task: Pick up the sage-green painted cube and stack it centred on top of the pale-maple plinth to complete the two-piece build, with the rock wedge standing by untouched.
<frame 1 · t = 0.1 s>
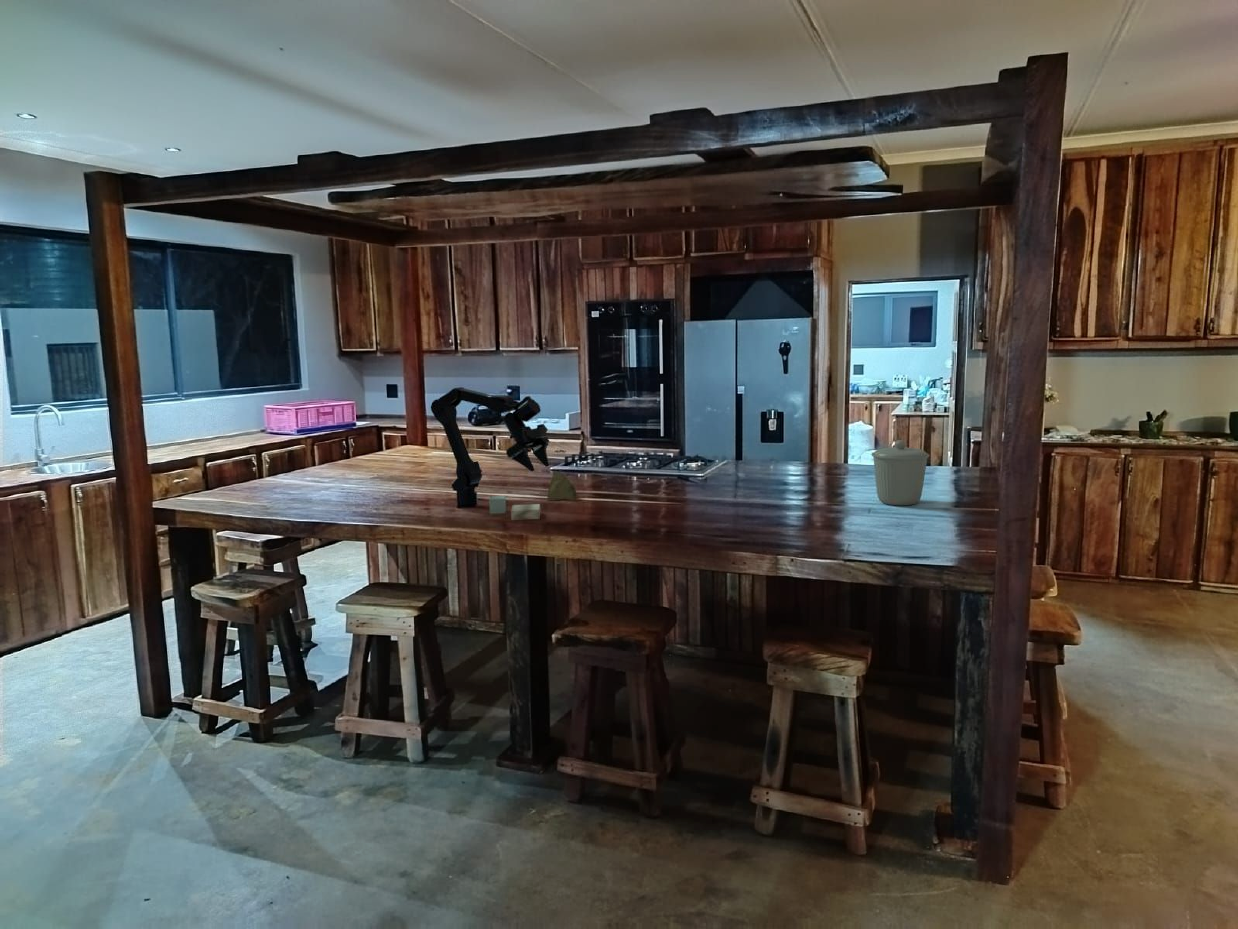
hand: (540, 468, 270), 15 cm above the kitchen island, tool tilted 30°, fingers open, 9 cm apart
rock: (563, 499, 294), on the kitchen island
canister: (898, 503, 270), on the kitchen island
plinth: (526, 516, 267), on the kitchen island
block: (498, 512, 275), on the kitchen island
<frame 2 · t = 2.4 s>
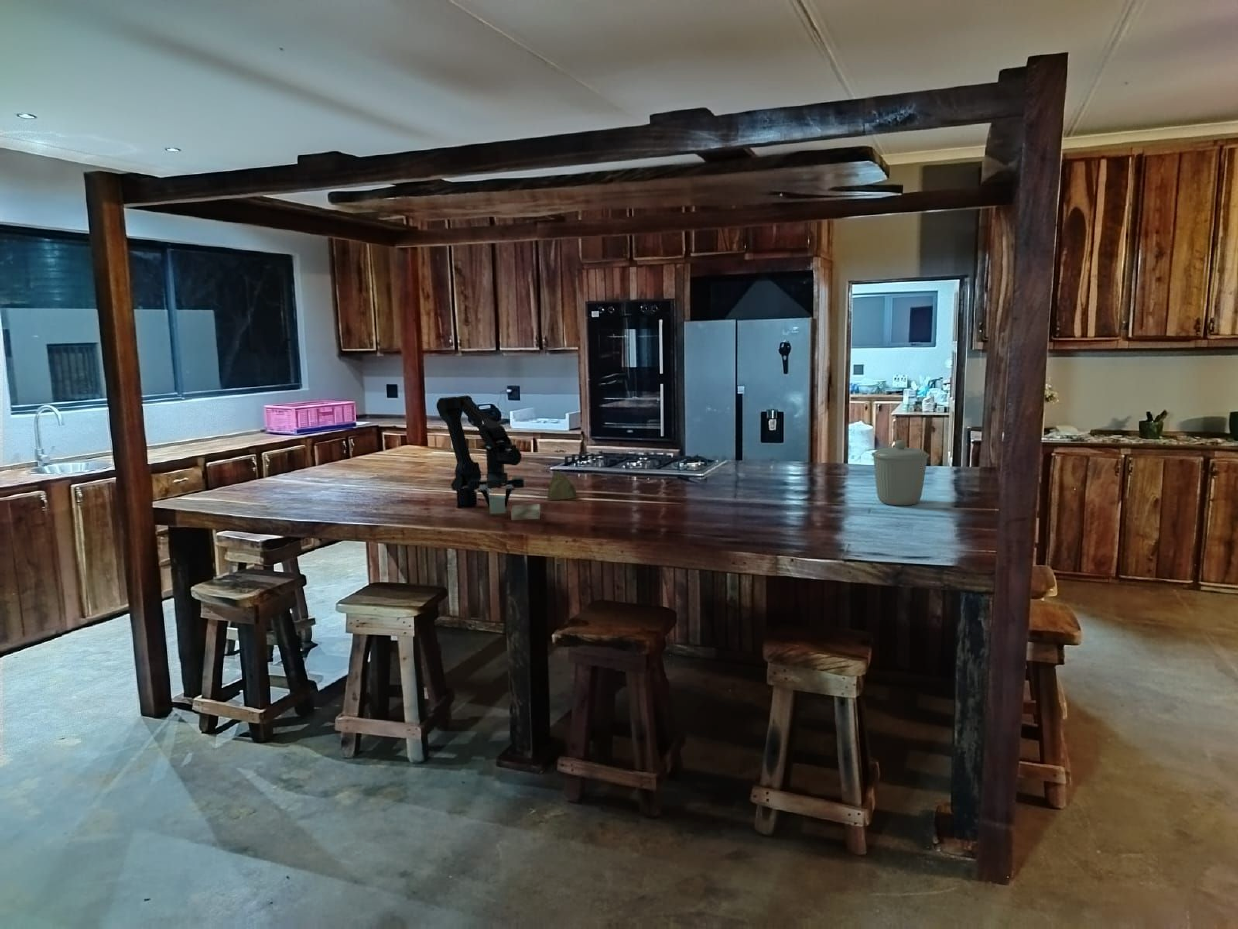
hand: (497, 508, 275), 1 cm above the kitchen island, tool pointing down, fingers closed on block, 5 cm apart
block: (498, 511, 275), on the kitchen island, touching gripper
everything else where it was.
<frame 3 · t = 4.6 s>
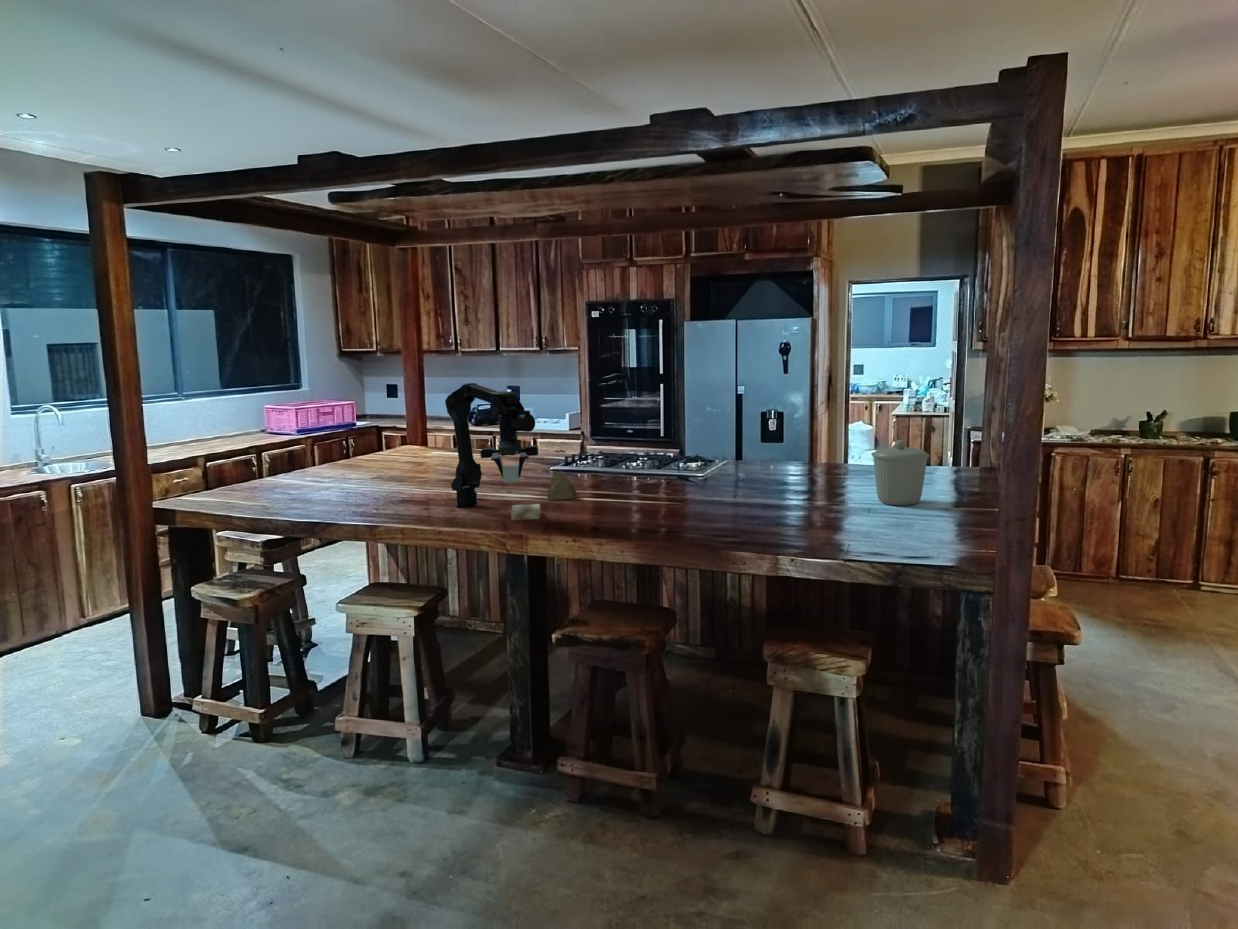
hand: (511, 477, 268), 12 cm above the kitchen island, tool pointing down, fingers closed on block, 5 cm apart
block: (511, 481, 268), point 11 cm above the kitchen island, touching gripper
everything else where it was.
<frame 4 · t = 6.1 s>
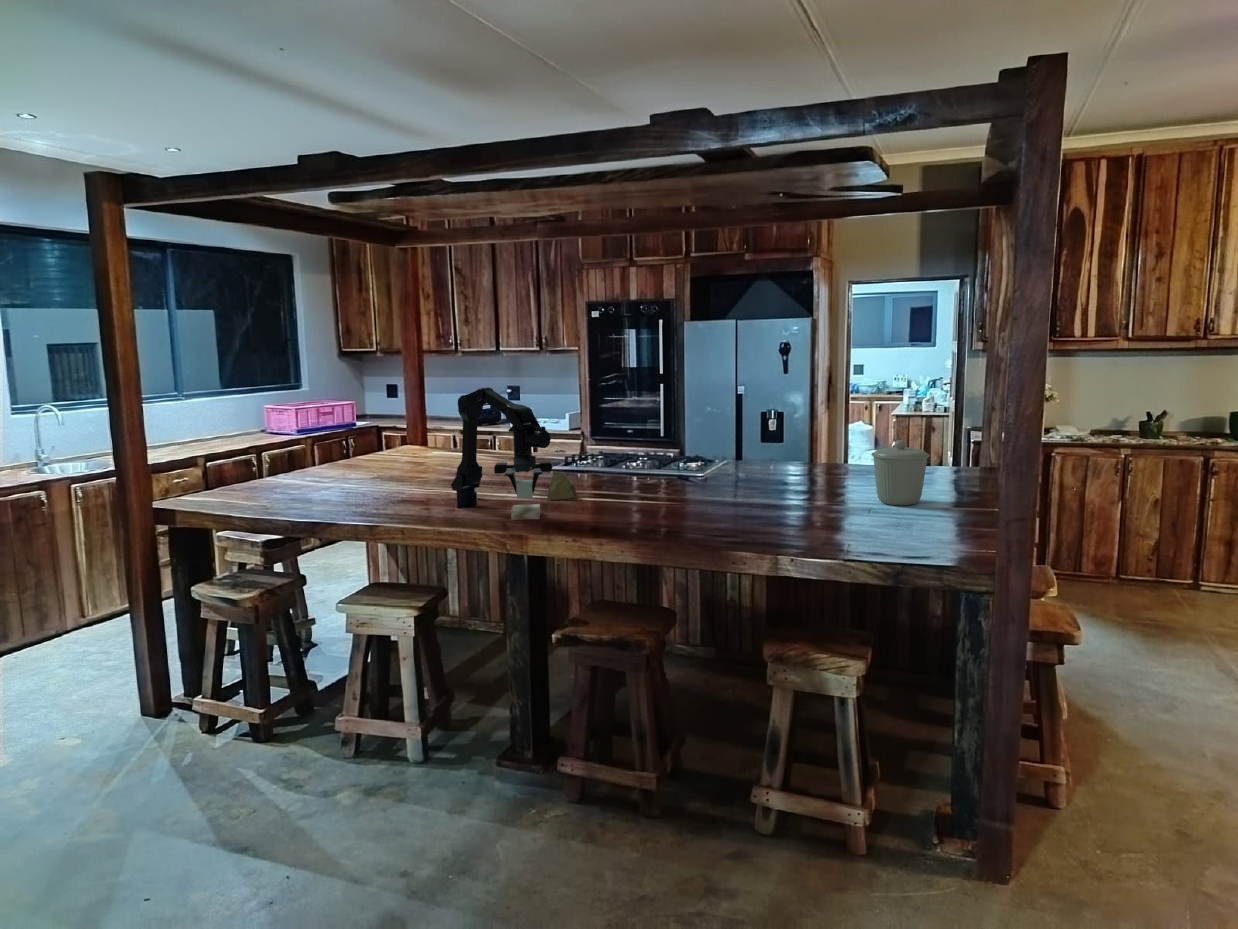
hand: (524, 493, 265), 8 cm above the kitchen island, tool pointing down, fingers closed on block, 5 cm apart
block: (525, 496, 266), point 7 cm above the kitchen island, touching gripper
everything else where it was.
when the fingers open (5 cm above the kitchen island, at t = 7.1 s): block stays where it is, resting on plinth.
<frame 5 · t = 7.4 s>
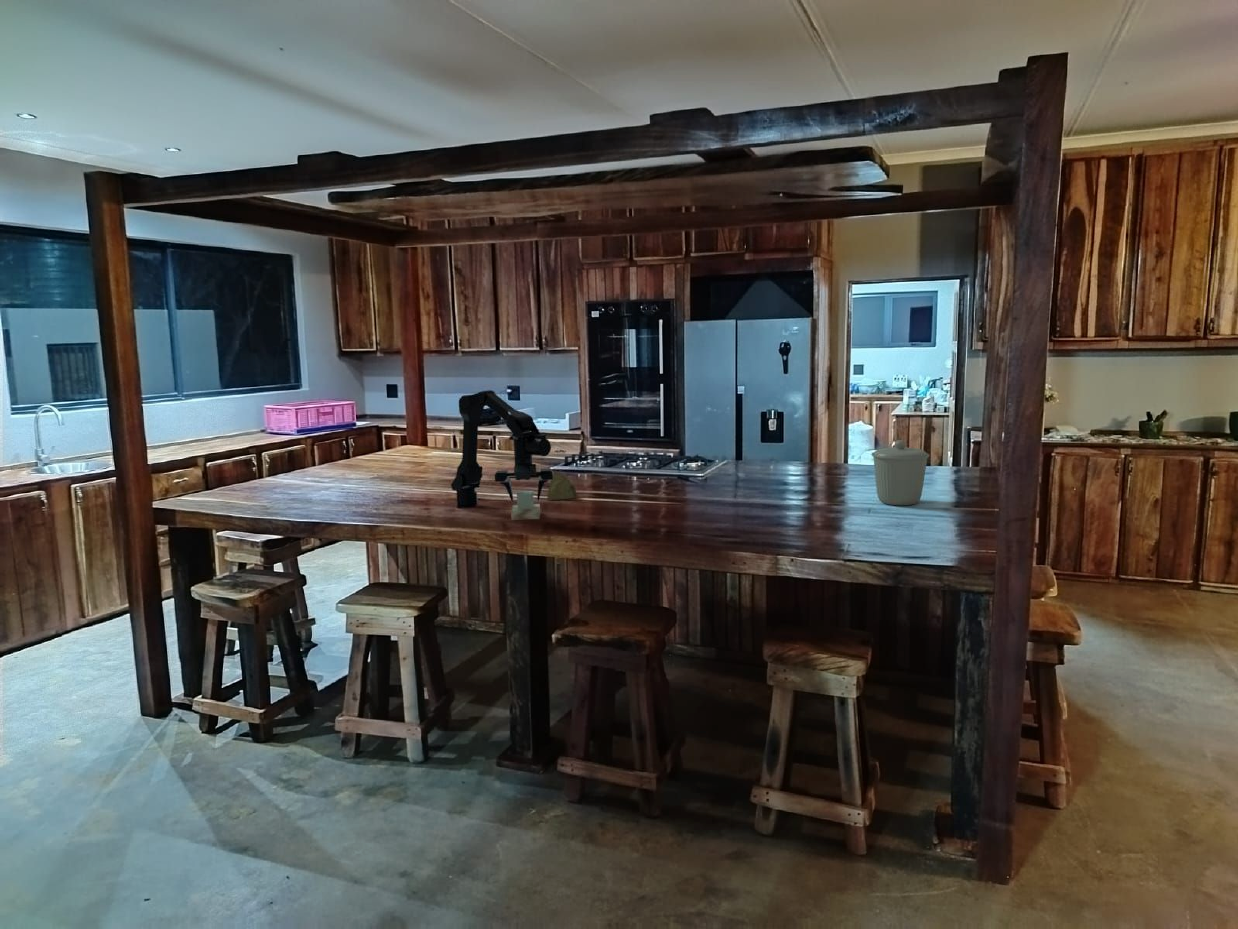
hand: (525, 500, 266), 5 cm above the kitchen island, tool pointing down, fingers open, 8 cm apart
block: (525, 507, 266), point 3 cm above the kitchen island, touching plinth
everything else where it was.
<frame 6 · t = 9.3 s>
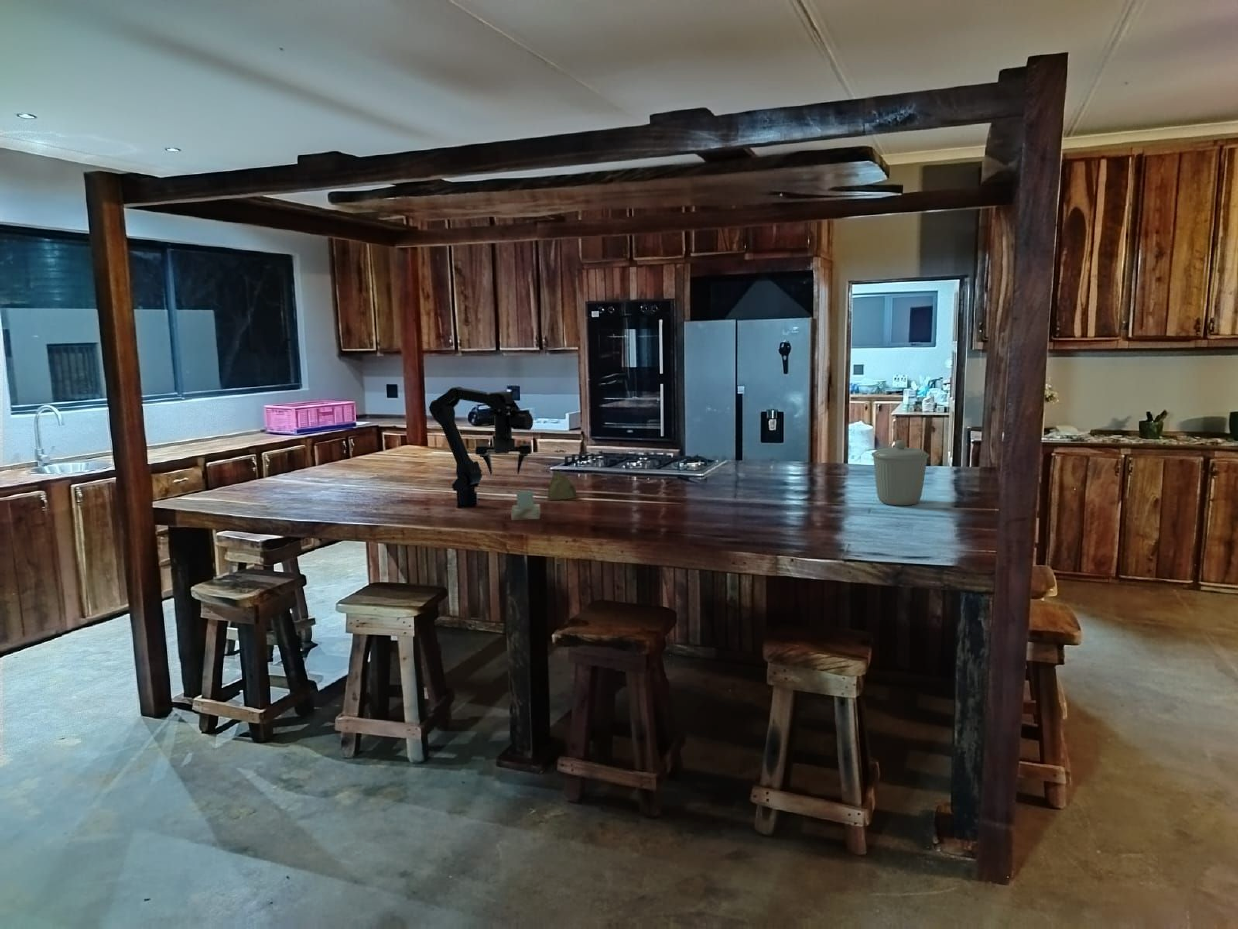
hand: (504, 474, 278), 12 cm above the kitchen island, tool pointing down, fingers open, 9 cm apart
nothing on the kitchen island moved.
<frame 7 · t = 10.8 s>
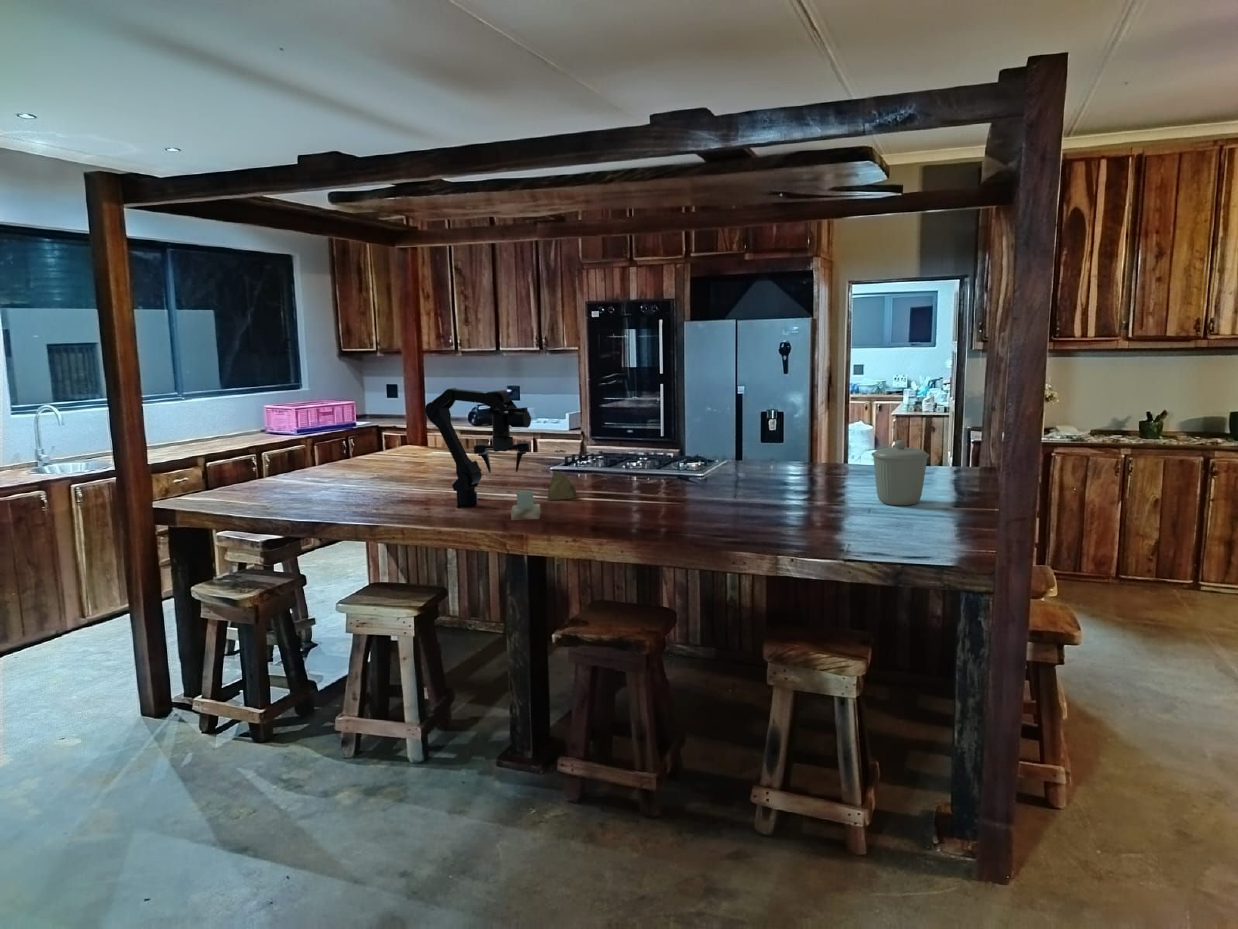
hand: (503, 472, 279), 13 cm above the kitchen island, tool pointing down, fingers open, 9 cm apart
nothing on the kitchen island moved.
at the end: block 0.0 cm off-centre on the plinth, point 3.0 cm above the plinth's base; block tilted 0°; the gripper is holding nothing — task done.
